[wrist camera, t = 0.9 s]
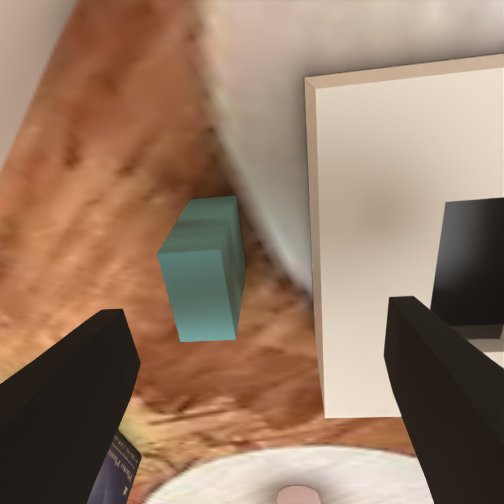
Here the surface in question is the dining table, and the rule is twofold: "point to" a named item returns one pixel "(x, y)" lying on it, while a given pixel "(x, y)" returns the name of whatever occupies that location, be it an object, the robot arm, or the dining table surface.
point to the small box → (116, 474)
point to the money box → (403, 214)
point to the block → (205, 269)
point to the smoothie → (298, 495)
